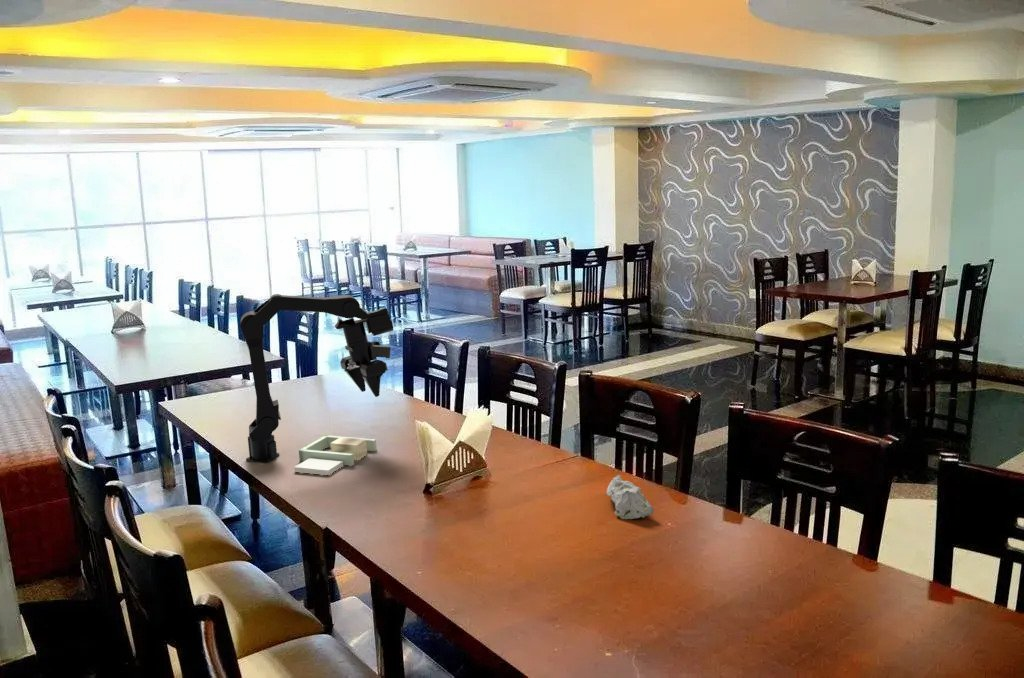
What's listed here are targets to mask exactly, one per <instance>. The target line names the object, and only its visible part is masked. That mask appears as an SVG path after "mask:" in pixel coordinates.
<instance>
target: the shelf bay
mask: <svg viewBox="0 0 1024 678" xmlns="http://www.w3.org/2000/svg"><path fill="white" fill-rule="evenodd" d="M340 437H342V438H354V439H365V440H366V444H367V452H376V451H377V449H378V448H377V439H373V438H363V437H362V438H361V437H351V436H350V437H349V436H341V435H340V436H338V435H328V434H327V435H324V436H322V437H320V438H318V439H317V440H315V441H313V442H311V443H309V444H308V445H305V446H304V447H302V448H301V449H299V450H298V459H299V462H302V461H305V460H307V459H309V458H314V459H325V460H335V461H343V465H349V466H348V467H353V466H354V465H355V461H354V454H350V453H339V452H331V451H327V450H326V449H327V448H331V444H330V443H331V442H333V441H335V440H337V439H338V438H340ZM325 448H326V449H325ZM323 449H324V450H323ZM352 465H353V466H352Z"/></svg>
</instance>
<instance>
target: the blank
mask: <svg viewBox="0 0 1024 678" xmlns="http://www.w3.org/2000/svg"><path fill="white" fill-rule="evenodd" d="M342 437H343V436H341V437H340V438H338V439H337V440H335V441H333V442H331V443H330V444H331V447H330V452H339V453H350V454H354V460H357V461H356V462H359V461H360V460H361V458H362V459H363V458H365V457H366V456H368V451H367V444H366V440H365V439H366V438H365V439H354V438H355V437H353V438H342ZM364 456H365V457H364ZM358 460H359V461H358Z"/></svg>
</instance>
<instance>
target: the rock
mask: <svg viewBox="0 0 1024 678" xmlns="http://www.w3.org/2000/svg"><path fill="white" fill-rule="evenodd" d="M641 491H642V488H641V487H639V486H636V485H635V483H634V482H631V481H629V480H623V479H622V476H621V475H620V474H617V475H616V476H615V477H613V478H612V479H611V481H610V482H609V484H608V486H607V488H606V495H607V496H609V497H610V499H611V500H612V502H613V503H614V507H615V511H614V514H615V515H616V516H617V517H619V518H620V519H621V520H633V519H639V518H642V519H643V518H645V517H646V516H652V515H653V514H654V513H655V512H654V508H653V506H652V505H651V504H650V502H649V501H648V500H647V498H646V497H645V494H643V492H641Z"/></svg>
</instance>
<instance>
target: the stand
mask: <svg viewBox="0 0 1024 678" xmlns="http://www.w3.org/2000/svg"><path fill="white" fill-rule="evenodd" d="M341 467H342V468H344V466H343V461H335V460H325V459H314V458H309V459H307V460H305V461H304V462H302V461H301V462H300V463H299V464H297V465H295V466H294V470H293V471H294V473H295V472H300V473H299V474H303V473H310V474H309V475H313V474H321V475H320V476H323V475H330V474H331V473H333V472H334V471H336V470H337V469H339V468H340V469H342V468H341ZM340 469H339V470H340ZM337 471H338V470H337ZM337 471H336V472H337ZM312 473H313V474H312ZM334 473H335V472H334ZM334 473H333V474H334ZM331 475H332V474H331ZM331 475H330V476H331Z"/></svg>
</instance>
